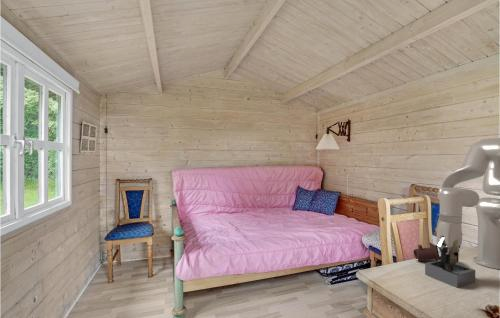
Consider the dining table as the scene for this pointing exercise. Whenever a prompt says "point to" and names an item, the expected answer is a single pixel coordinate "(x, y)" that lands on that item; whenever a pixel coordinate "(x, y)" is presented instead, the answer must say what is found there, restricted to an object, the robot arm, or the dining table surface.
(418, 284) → the dining table surface
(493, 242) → the robot arm
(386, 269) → the dining table surface
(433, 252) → the dark brown lumpy piece
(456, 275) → the frame
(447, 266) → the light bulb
